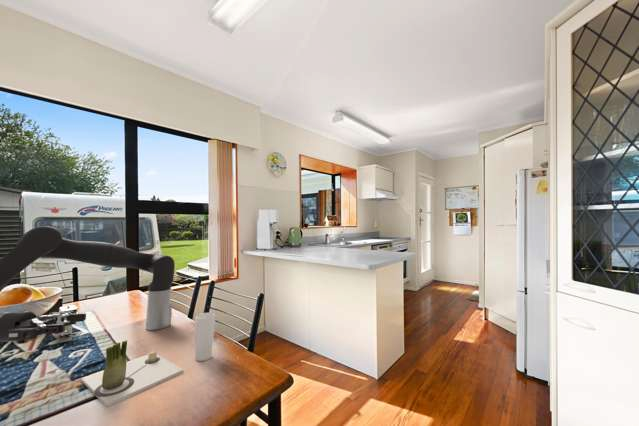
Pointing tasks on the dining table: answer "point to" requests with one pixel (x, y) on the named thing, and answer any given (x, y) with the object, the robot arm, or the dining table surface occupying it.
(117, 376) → the fennel bulb
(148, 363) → the gauge board
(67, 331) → the pneumatic valve
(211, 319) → the drinking glass
